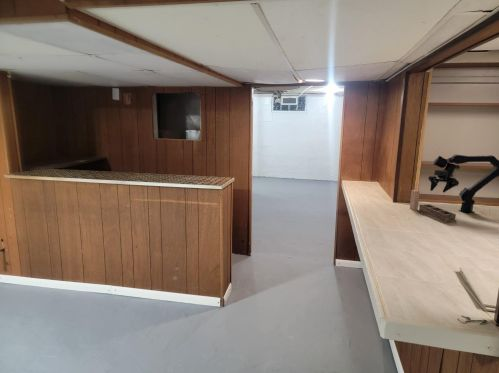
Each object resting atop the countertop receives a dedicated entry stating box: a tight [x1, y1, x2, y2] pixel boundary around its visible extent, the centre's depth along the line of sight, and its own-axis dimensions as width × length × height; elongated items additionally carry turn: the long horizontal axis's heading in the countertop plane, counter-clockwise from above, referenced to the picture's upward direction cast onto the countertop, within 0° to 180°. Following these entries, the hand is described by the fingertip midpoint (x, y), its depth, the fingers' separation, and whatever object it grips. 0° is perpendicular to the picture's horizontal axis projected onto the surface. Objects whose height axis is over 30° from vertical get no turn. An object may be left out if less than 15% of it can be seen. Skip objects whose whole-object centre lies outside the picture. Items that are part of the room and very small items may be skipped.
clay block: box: [409, 189, 421, 211], centre depth 219 cm, size 3×4×13 cm, turn 7°
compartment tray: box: [417, 203, 457, 224], centre depth 201 cm, size 9×24×5 cm, turn 7°
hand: (436, 191), depth 210 cm, fingers open, 9 cm apart
